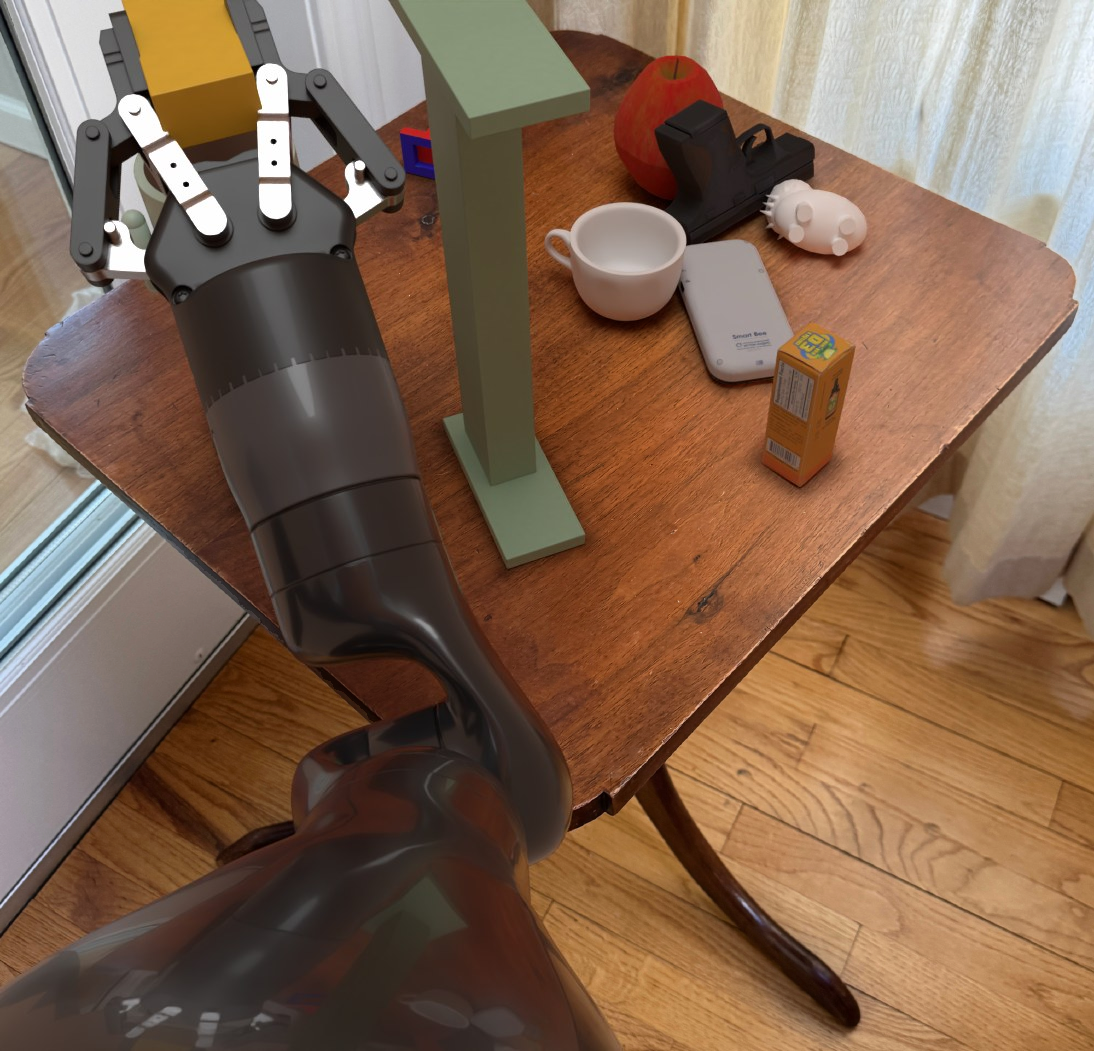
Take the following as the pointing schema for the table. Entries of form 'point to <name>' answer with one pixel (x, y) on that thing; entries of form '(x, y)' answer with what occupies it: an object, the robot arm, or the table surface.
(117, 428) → the table surface
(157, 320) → the table surface
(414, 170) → the toy building block
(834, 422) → the supplement box
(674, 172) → the handgun
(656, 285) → the teacup
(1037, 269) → the table surface
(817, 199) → the toy creature
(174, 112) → the rectangular block
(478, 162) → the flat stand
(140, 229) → the hollow cylinder with base
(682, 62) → the apple
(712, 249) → the grey smart device
